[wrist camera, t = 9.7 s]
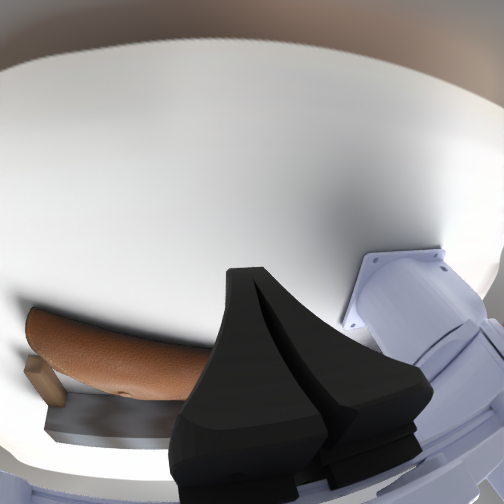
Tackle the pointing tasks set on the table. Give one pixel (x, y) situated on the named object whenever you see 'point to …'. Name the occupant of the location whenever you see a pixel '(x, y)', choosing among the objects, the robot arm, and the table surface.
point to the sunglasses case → (115, 358)
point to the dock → (101, 415)
